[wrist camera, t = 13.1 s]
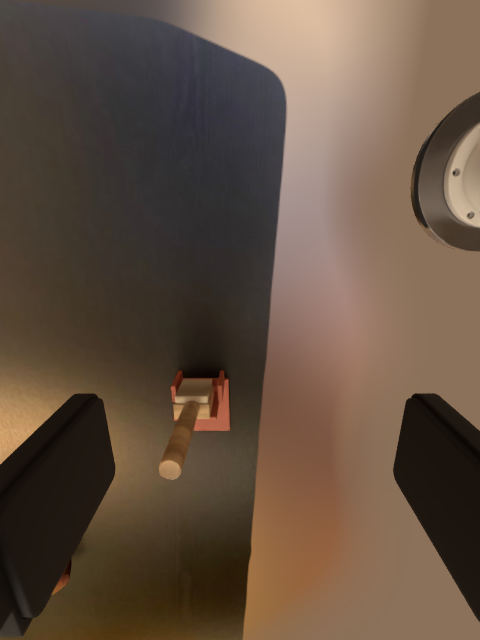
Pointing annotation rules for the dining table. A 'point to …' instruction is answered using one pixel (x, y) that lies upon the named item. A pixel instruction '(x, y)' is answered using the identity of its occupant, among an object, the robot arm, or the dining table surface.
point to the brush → (186, 422)
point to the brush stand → (220, 405)
